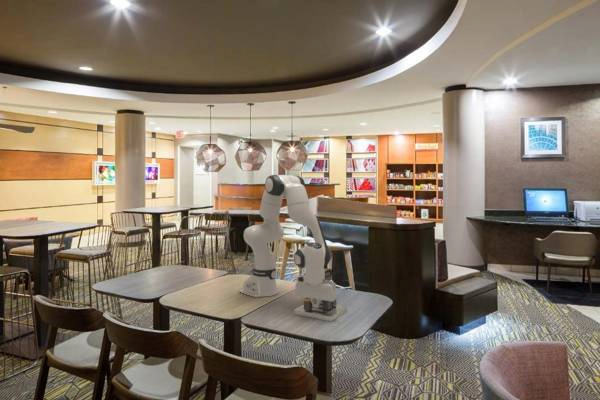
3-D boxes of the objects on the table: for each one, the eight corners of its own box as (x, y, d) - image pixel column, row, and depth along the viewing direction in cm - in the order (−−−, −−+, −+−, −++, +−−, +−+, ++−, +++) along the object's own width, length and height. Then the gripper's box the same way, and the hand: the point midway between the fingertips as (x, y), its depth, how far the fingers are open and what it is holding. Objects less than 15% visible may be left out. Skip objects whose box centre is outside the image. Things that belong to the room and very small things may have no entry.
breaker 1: (322, 309, 179) (322, 298, 178) (326, 306, 182) (325, 296, 181) (328, 310, 177) (327, 299, 177) (331, 307, 180) (331, 297, 180)
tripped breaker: (303, 309, 178) (303, 299, 178) (307, 307, 181) (307, 297, 181) (309, 310, 177) (309, 300, 176) (313, 308, 180) (312, 297, 179)
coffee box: (323, 303, 194) (322, 272, 193) (312, 301, 198) (312, 270, 197) (332, 298, 202) (332, 268, 201) (322, 296, 205) (322, 267, 205)
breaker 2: (327, 305, 183) (327, 296, 183) (330, 303, 186) (330, 294, 186) (332, 306, 181) (332, 297, 181) (336, 304, 184) (336, 295, 184)
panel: (293, 313, 180) (293, 309, 180) (311, 304, 193) (310, 300, 193) (331, 321, 169) (331, 316, 169) (346, 310, 183) (346, 306, 183)
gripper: (338, 279, 173) (339, 309, 174) (300, 274, 184) (301, 302, 185) (332, 282, 168) (332, 313, 169) (293, 277, 179) (294, 306, 179)
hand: (315, 307), depth 177 cm, fingers closed
